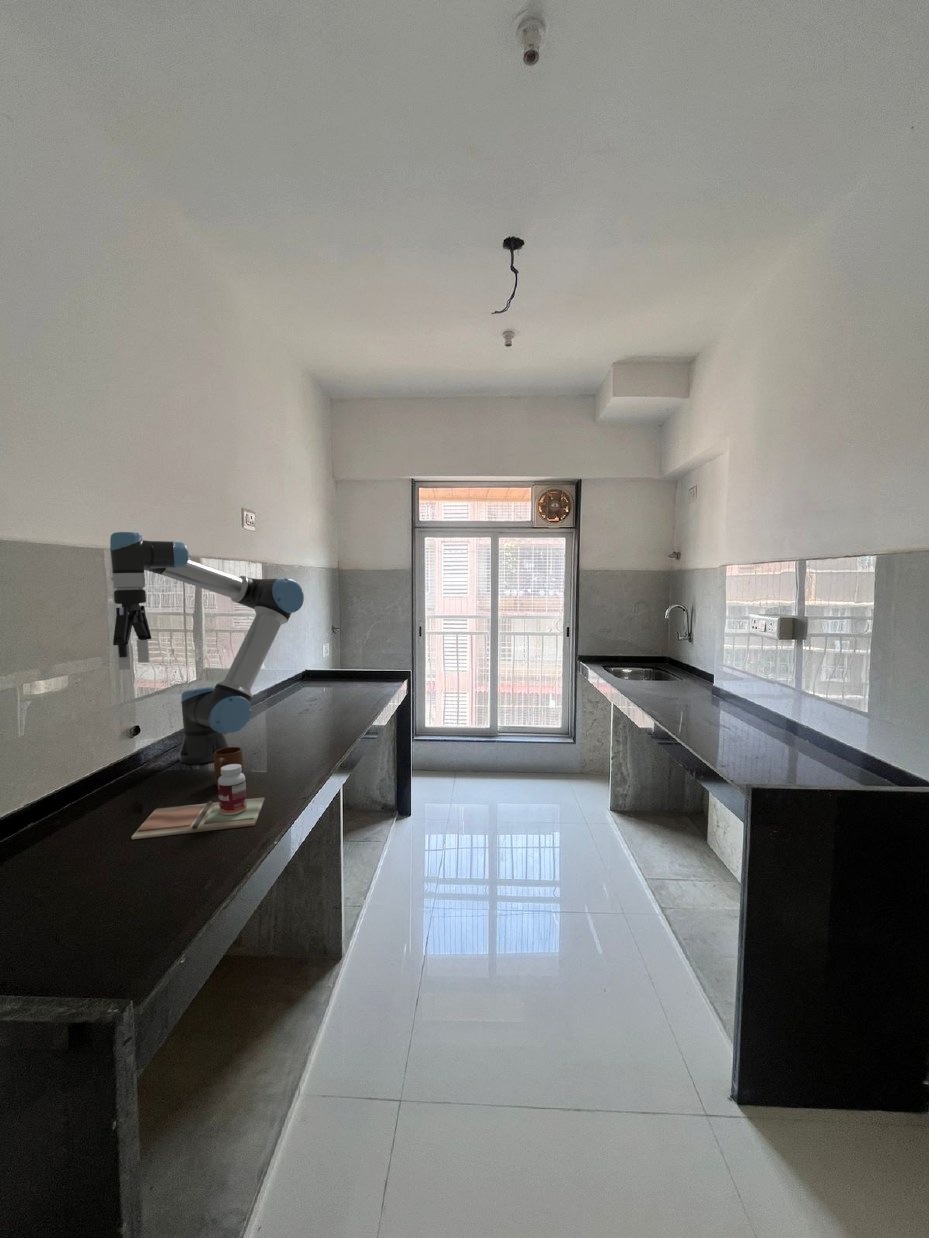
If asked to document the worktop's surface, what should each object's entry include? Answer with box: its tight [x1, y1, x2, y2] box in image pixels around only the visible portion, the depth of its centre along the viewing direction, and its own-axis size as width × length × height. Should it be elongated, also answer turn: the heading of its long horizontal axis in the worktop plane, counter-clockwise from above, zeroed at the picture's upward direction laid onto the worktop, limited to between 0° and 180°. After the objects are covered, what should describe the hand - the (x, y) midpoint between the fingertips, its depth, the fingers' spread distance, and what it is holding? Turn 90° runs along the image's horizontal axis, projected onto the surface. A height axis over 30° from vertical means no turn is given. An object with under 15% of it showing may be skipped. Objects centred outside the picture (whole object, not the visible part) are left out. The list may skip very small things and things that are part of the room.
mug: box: [213, 746, 245, 787], centre depth 156 cm, size 12×8×9 cm, turn 3°
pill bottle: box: [217, 764, 248, 815], centre depth 135 cm, size 6×6×11 cm
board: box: [131, 797, 265, 840], centre depth 134 cm, size 16×26×1 cm, turn 102°
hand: (135, 665), depth 154 cm, fingers open, 13 cm apart
